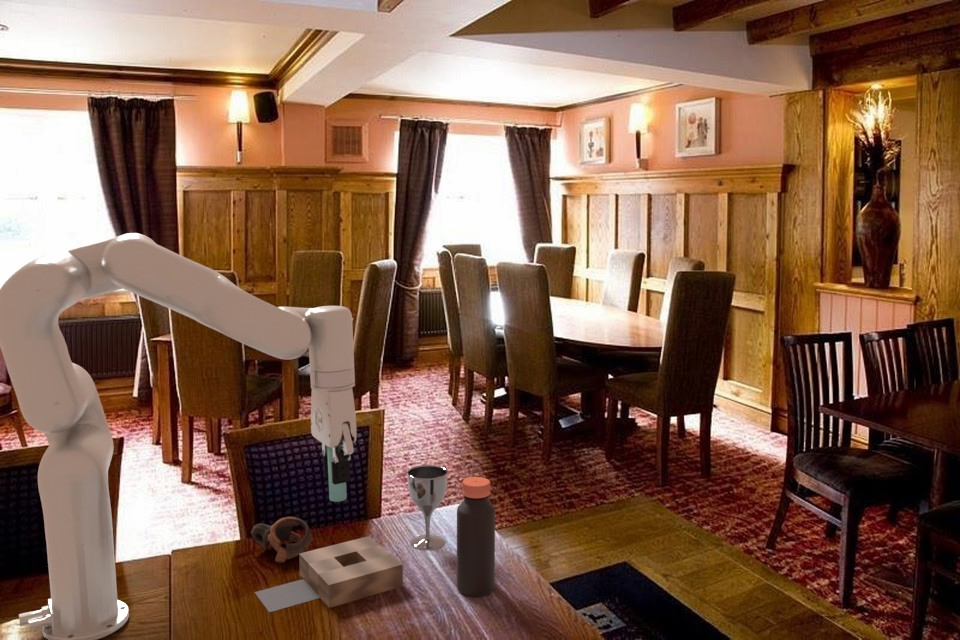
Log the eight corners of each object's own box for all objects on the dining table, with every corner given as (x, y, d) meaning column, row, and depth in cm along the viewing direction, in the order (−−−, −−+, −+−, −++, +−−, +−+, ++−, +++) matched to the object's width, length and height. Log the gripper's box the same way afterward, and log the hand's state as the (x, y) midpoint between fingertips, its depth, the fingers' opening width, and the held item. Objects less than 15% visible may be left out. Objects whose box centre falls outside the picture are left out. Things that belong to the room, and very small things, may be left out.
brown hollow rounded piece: (313, 542, 159) (319, 517, 155) (301, 582, 152) (307, 556, 147) (255, 529, 158) (259, 503, 154) (240, 568, 151) (243, 541, 146)
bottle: (490, 599, 136) (491, 490, 133) (452, 595, 138) (452, 486, 134) (497, 581, 143) (498, 476, 140) (461, 577, 144) (461, 473, 141)
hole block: (329, 609, 132) (328, 585, 132) (299, 576, 144) (299, 553, 143) (402, 588, 140) (402, 564, 139) (369, 558, 152) (368, 536, 151)
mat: (269, 614, 131) (269, 612, 131) (254, 594, 137) (254, 592, 137) (325, 598, 136) (325, 596, 136) (308, 579, 143) (308, 577, 143)
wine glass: (454, 539, 160) (454, 469, 158) (432, 554, 153) (431, 481, 151) (423, 531, 164) (423, 462, 162) (400, 544, 157) (399, 473, 155)
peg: (333, 503, 136) (330, 436, 134) (326, 497, 139) (323, 432, 137) (349, 499, 138) (346, 433, 136) (342, 493, 140) (339, 429, 139)
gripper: (295, 372, 140) (300, 470, 143) (330, 390, 126) (335, 498, 129) (334, 366, 144) (338, 462, 147) (372, 384, 130) (376, 489, 133)
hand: (337, 478), depth 138 cm, fingers closed on peg, 3 cm apart
